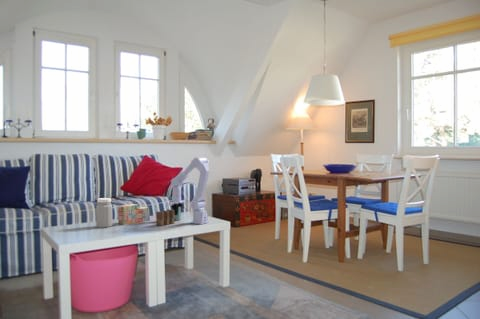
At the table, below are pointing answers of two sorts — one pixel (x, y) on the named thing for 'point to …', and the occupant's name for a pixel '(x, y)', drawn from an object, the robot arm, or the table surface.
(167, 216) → the domino
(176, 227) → the table surface
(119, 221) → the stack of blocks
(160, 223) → the domino
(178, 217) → the domino
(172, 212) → the domino
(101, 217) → the jar
